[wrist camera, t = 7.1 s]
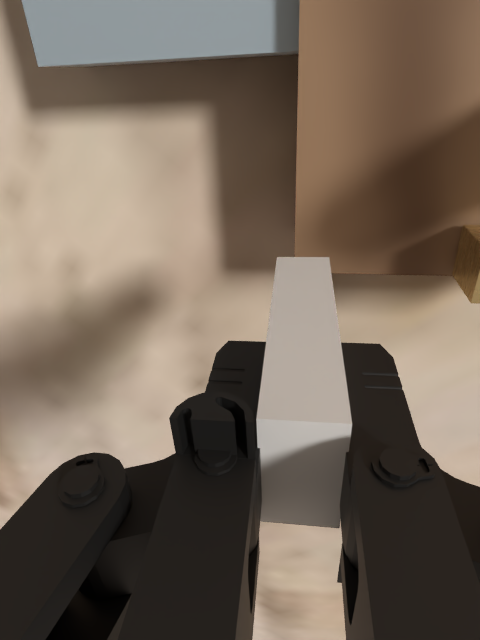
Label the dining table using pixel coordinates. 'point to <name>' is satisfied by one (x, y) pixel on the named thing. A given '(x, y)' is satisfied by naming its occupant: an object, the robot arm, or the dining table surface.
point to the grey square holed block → (159, 30)
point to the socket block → (387, 133)
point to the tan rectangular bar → (468, 262)
